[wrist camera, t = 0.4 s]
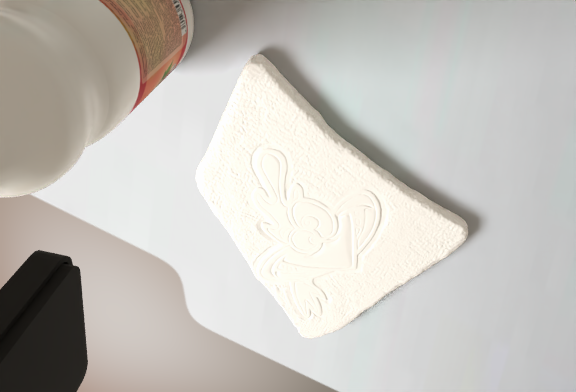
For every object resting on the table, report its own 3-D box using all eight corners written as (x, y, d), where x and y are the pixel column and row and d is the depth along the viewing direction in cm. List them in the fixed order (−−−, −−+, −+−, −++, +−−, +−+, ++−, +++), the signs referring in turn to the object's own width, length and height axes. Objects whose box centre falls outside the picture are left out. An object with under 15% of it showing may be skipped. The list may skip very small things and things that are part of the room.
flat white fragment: (471, 216, 50) (267, 34, 42) (479, 238, 47) (261, 46, 40) (317, 331, 59) (128, 197, 52) (316, 355, 56) (115, 217, 49)
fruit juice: (207, -28, 40) (-41, 128, 16) (187, 87, 45) (-23, 334, 21) (85, -67, 39) (-347, 34, 16) (79, 53, 45) (-255, 265, 21)
